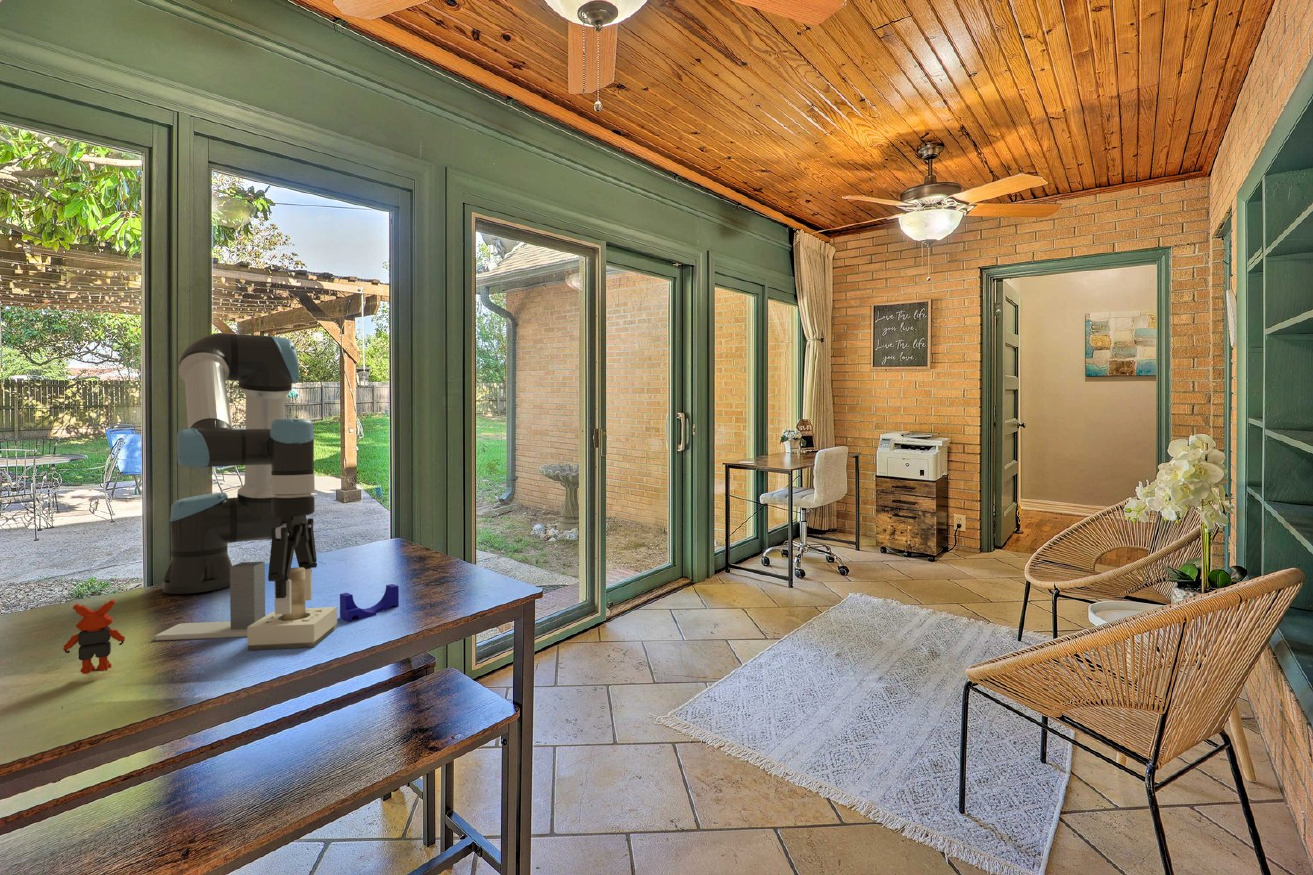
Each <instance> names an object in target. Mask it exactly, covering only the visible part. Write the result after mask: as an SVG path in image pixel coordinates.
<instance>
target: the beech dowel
mask: <svg viewBox="0 0 1313 875" xmlns="http://www.w3.org/2000/svg"><path fill="white" fill-rule="evenodd" d="M288 580H291V609H292V613H290V614H283V621H292V620H298V619H303V618H306V617H305V608H306V601H305V568H302V567H299V566H298V567H291V569H290V574H289V579H288Z"/></svg>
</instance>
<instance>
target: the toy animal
mask: <svg viewBox="0 0 1313 875" xmlns="http://www.w3.org/2000/svg"><path fill="white" fill-rule="evenodd" d="M115 604H116V600H115V599H111V600H109V601H107V602H105V603H104V604H103V605H102V606H100V608H99V609H96V610H92V609H91V608H89V607H87V606H86V605H84V604H83V605H82V604H81V605H80V604H79V603H75V604H74V605H73V606H72V609H73V610H74V611H75V614H77V615H80V616H81V617H82V618H81V620H79V621H78V622H77V624H75V628H76V629H77V630H78V631H79V633H77V634H74V635H71V636H70V639H68V641H67V642H66V644H63V646H62V647H63V651H64V653H66V654H70V652H71V650H70V649H72V648H73V647H74V646H75V645H76V644H77V643H78V644H77V645H78V646H79V648H78V651H77V652H78V660H79V661H81V662H82V663H81V668H80V673H81V674H82V675H88V674H91V673H92V672H93V671H96V669H97V670H98V672H105V671H107V670H108V669H110V668H111V667H112V663H111V662H110V661H109V659H108V658H109V657H108V656H110V654H111V653H112V652H111V651H112V648H111V647H112V646H111V645H112V644H111V643H112V641H111V640H110V639H111V638H112V639H113V640H116V641H117V642H119V644H118V645H119V646H122V645H123V644H124V642H125V641H126V636H124V635H122V633H120V632H119V630H117V629H113V628H111V627H110V625H111V624H112V623H113V622H114V618H113V617H112V616H110V615H109V614H108V613H109V611H110V610H111V609H113V607H114V605H115ZM94 656H95V658H96V659H98V665H97V667H96V666H95V665H93V662H92V659H93V658H94Z"/></svg>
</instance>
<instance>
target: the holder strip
mask: <svg viewBox="0 0 1313 875" xmlns="http://www.w3.org/2000/svg"><path fill="white" fill-rule="evenodd" d="M239 637H240V638H242V637H247V629H237V630H231V620H230V621H229V620H228V621H209V622H207V621H206V622H205V621H204V622H202V621H201V622H186V623H185V622H184V623H178V624H176V625H173V626H172V627H169V628H168V629H166V630H163V631H162V632H159V633H158V634H156V635H155V636H154V641H172V640H173V641H174V640H196V639H217V638H239Z"/></svg>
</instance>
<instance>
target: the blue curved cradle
mask: <svg viewBox="0 0 1313 875" xmlns="http://www.w3.org/2000/svg"><path fill="white" fill-rule="evenodd" d="M399 591H400V589H399V585H397V584H394V583H390V584H386V585H385V591H384V594H383V596H382V597H381V599H380V600H379V601H378V602H377V603H375V605H372V606H370V607H367V608H360V607H359V606H357V604H356V602H355V601H354V596H353V594H351V593H348V592H344V593H339V617H340V618H341V619H342V620H343V621H346V622H347V623H353V622H352V621H353V618H355V619H357V620H358V621H359V619H360V620H363V619H366V618H370V617H374V616H377V613H379V612H383V610H384V611H387V610H390V609H391V608H392V607H396V608H397V607H399V606H400V605H399V602H400V598H399V596H400V594H399V593H400V592H399Z"/></svg>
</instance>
